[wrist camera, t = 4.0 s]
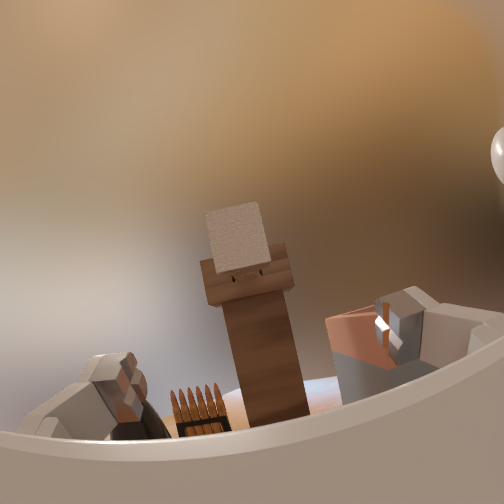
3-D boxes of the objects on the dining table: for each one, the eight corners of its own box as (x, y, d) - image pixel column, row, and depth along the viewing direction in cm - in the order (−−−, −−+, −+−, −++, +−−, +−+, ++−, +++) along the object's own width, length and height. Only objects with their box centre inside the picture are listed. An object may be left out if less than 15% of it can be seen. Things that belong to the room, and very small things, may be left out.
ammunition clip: (181, 445, 52) (166, 391, 55) (182, 442, 54) (167, 389, 56) (233, 437, 53) (219, 382, 56) (233, 434, 55) (219, 381, 58)
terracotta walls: (514, 311, 19) (505, 267, 20) (388, 370, 19) (377, 314, 20) (423, 319, 36) (417, 291, 37) (331, 349, 36) (324, 318, 37)
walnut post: (358, 502, 23) (304, 237, 29) (245, 526, 23) (179, 265, 29) (341, 472, 31) (295, 255, 37) (248, 493, 30) (196, 277, 37)
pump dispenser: (138, 503, 29) (104, 403, 32) (115, 479, 36) (88, 395, 39) (199, 480, 36) (172, 388, 39) (167, 463, 43) (145, 384, 46)
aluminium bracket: (271, 261, 20) (257, 201, 20) (216, 273, 19) (204, 212, 20) (265, 279, 34) (257, 244, 35) (233, 286, 34) (225, 251, 34)
